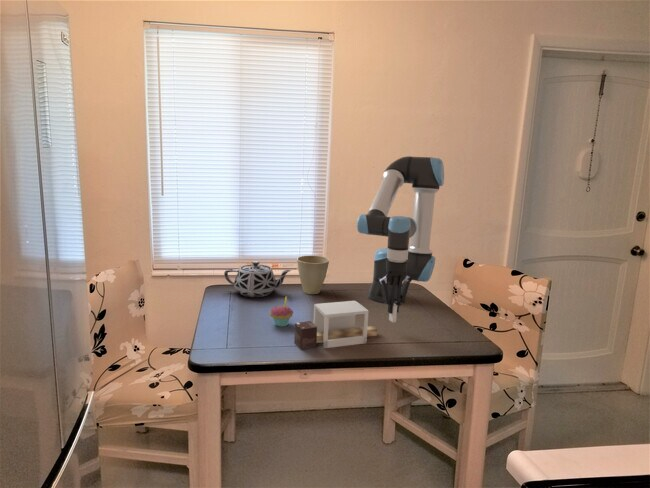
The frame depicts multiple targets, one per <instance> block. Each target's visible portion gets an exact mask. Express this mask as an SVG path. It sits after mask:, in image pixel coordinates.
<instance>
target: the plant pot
mask: <svg viewBox="0 0 650 488" xmlns="http://www.w3.org/2000/svg"><path fill="white" fill-rule="evenodd" d="M296 263H297V269H298V270H297V271H298V275H299V279H300V284H301V287H302V289H303V290H302V291H303V292H304V294H307V295H317V294H320V292H321V289H322V288H323V285H324V282H325V279H326V276H327V272H328V267H329V263H330V259H329V258H328V257H326V256H320V255H301V256H298V257H297V258H296Z"/></svg>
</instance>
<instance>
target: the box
mask: <svg viewBox="0 0 650 488" xmlns="http://www.w3.org/2000/svg"><path fill="white" fill-rule="evenodd" d="M313 323H314V322H313V321H311V320H309V321H301V322H295V323H294V341H293V342H294V344H295V345H296V346H297V347H298V348H299V349H300V350H305V349H310V348H311V349H312V348H317V344H318V343H317V326H315V325H314V324H313Z"/></svg>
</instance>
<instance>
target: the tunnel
mask: <svg viewBox="0 0 650 488" xmlns="http://www.w3.org/2000/svg"><path fill="white" fill-rule="evenodd" d="M357 315H363V323H362V324H363V325H362V327H363V336H356V337H347V338H339V339H330V340H328V331H333V330H341V329H350V328H356V327H355V326H356V316H357ZM312 323H313V324H314V325H315V326H317V332H324V335H323V342H322V348H323V349H331V348H337V347H345V346H355V345H361V344H363V345H364V344H367V343H368V342H367V341H368V339H367V338H368V337H367V328H368V326H369V325H368V323H369V310H368V309H367V308H366V307H365V306H363V305H362V304H361V303H360V302H358V301H356V300H346V301H334V302H324V303H314V304H313V322H312Z"/></svg>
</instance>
